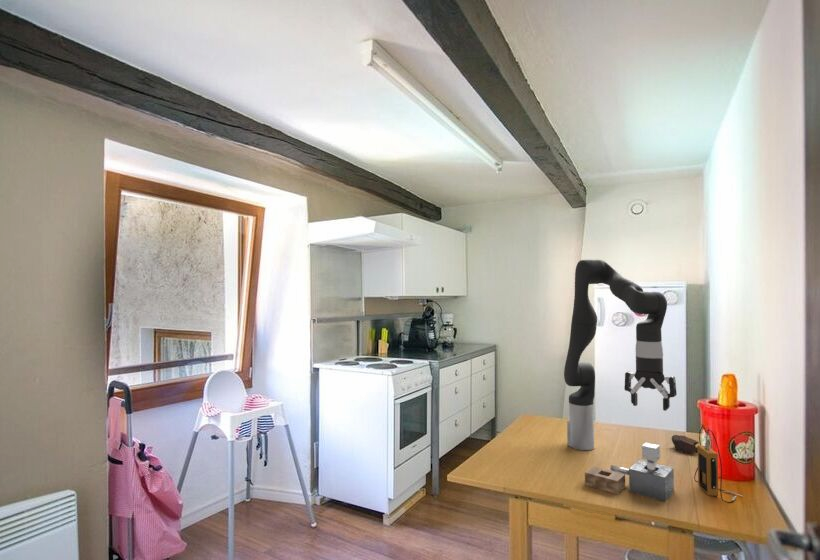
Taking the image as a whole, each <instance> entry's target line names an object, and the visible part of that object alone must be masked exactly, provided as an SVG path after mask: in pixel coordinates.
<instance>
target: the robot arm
mask: <svg viewBox="0 0 820 560" xmlns="http://www.w3.org/2000/svg"><path fill="white" fill-rule="evenodd" d="M599 284H603V285H606V286H608V287H609V290H610V292H611V294H612V295H613V296H615V297H616V298H617V299H619V300H621V301H622V302H624V303H625V305H626V306H627V307H628V308H629V310H630V311H631V312H633V313H635V314H637V315H647V317H646V319H645V320H644V321H643V320H642V321H640V322H638V323H637V324H636V327H635V331H636V332H635V338H636V339H635V341H636V342H635V372H631V371H627V372H625V373H624V391H626V392H629V393H630V403H631V404H632V406H634V407H637V406H638V402H639V401H638V400H639V399H638V391H639V390H640V389H641V388H643V389H650V390H655V389H656V390H657V391H658V392H659V393H660V395H661V396H663V397H662V411H665V412H666V411H668V409H669V408H670V403H671V402H670V399H671V398H675V397H676V396H677V386H676V385H677V383H676V377H675V376H673V375H672V376H666V375H665V374H664V351H663V350H664V349H663V344H662V343H663V342H662V341H663V340H662V327H663V324H664V322H665V321H664V320H665V317H666V312H667V308H668V301H667V297H666V296H665V295H664V294H663V293H662V292H660V291H644V289H643V288H642V287H641V285H639V284H638V283H636V282H634V281H631V280H630V279H628V278H626V277H624V276H623V275H622V274H621V273H619V272H618V271H617V270H616V269H614V268H613V267H612V265H610V264H609V263H608V262H606V261H605V260H602V259H581V260H579V261H578V262H577V263H576V267H575V273H574V296H573V297H574V298H573V308H572V309H573V310H572V315H571V321H570V322H571V324H570V332H569V333H570V336H569V343H568V350H567V354H566V358H565V359H566V360H565V364H564V369H563V377H564V383H565V384H566V385H567V386H569V387H580V388H579V389H578V390H576V391H575V392H572V393H571V394H569V396H568V421H567V422H566V431H567V433H566V434H567V437H566V439H567V442H566V443H567V444H566V445H567V446H568V447H570V448H572V449H575V450H579V451H591V450H594V449H595V425H594V423H595V421H594V419H595V418H594V417H595V416H594V415H595V412H594V400H595V397H596V396H595V395H596V393H595V392H596V391H595V390H596V371H595V368H594V366H593V365H592V363H590V362H580V359H581V356H582V354H583V352H584V351H585V350H586V349H587V347H588V346H590V343H592V341H593V339H594V338H595V336H596V333H597V326H598V325H597V324H598V315H597V312H596V311H595V309H594V306H593V304H592V303H591V300H590V298H589V286H590V285H599ZM634 378H635V379H636V381H637V382H636V384H635V385H634V386H633V387H632V380H633V379H634ZM664 381H666V383H667V385H668V386H669V392H668V390H667V388H666V386H664V385H663V383H664Z"/></svg>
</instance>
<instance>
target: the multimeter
mask: <svg viewBox="0 0 820 560" xmlns="http://www.w3.org/2000/svg"><path fill="white" fill-rule="evenodd" d="M702 429H703V430H704V432H705V443H704V445H702V443H701V431H702ZM709 432H711V434H712V436H713V438H714V441H715V445H716V448H717V451H718V453H717V452H716V451H715V450H713V449H712V448H710V444H709ZM698 439H699V441H698V442H699V445H698V444H697V446H696V447H697V451H698V453H697V468H696V470H695V473H694V476H693V480H694V481H695V482H696V483H698V485H697V486H698V488H700V489H701V490H702V491H704V492H705V493H706V494H707V496H710V497H712V496H713V497H719V495H720V499H721V501H723V503H727V504H728V503H733V502H734V501H735V500H736V499H737V496H740V497H743V495H742V494H738V493H736V492H734V491H733V492H732V491H729V490H724V489H722V482H723V481H722V480H723V478H722V477H723V475H722V474H723V466H722V459H721V458H722V457H721V454H720V450H719V445H718V441H717V439H716V437H715V434H714V432H713V430H711V429H707V431H706V428H705V427H704V425H703V424H701V427H700V430H699V434H698ZM718 456H719V457H718ZM718 459H719V460H718ZM719 463H720V485H719ZM696 475H697V480H696ZM719 486H720V488H719ZM719 491H720V492H719ZM722 491H723V492H725V493H727V492H728V494H731V493H732V494H731V495H734V494H735V496H733V498H731V501H726V500H725V499H723V493H722ZM719 493H720V494H719Z"/></svg>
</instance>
